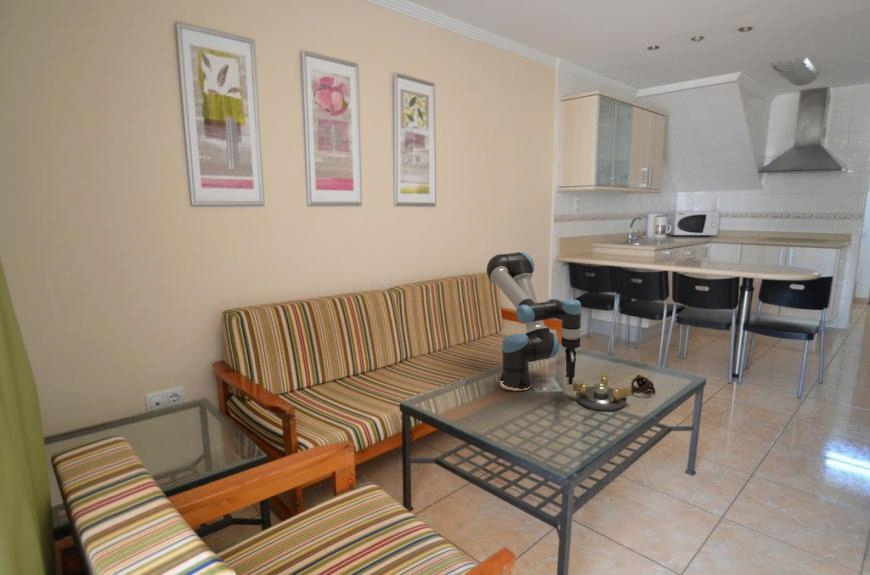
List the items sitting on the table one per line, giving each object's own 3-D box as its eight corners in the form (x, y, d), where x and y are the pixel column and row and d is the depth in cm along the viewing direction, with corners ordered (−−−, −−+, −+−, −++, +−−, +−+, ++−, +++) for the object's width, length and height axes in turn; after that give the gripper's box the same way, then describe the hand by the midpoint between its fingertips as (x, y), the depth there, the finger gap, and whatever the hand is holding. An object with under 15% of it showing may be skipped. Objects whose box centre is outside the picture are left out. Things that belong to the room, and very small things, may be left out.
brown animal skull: (660, 397, 201) (654, 384, 198) (639, 406, 203) (632, 393, 200) (649, 380, 212) (643, 366, 209) (629, 388, 214) (622, 375, 211)
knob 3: (615, 403, 191) (615, 391, 190) (610, 400, 194) (611, 389, 193) (632, 399, 194) (632, 388, 193) (627, 396, 196) (627, 385, 195)
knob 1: (588, 396, 199) (588, 384, 198) (584, 398, 197) (584, 386, 196) (571, 390, 205) (571, 379, 204) (567, 392, 204) (567, 381, 203)
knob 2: (606, 390, 204) (607, 379, 203) (600, 389, 205) (600, 378, 204) (609, 382, 211) (610, 372, 210) (603, 382, 212) (603, 371, 211)
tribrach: (571, 406, 196) (571, 389, 195) (581, 387, 213) (581, 372, 212) (622, 415, 187) (623, 397, 185) (629, 395, 204) (629, 379, 202)
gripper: (582, 342, 190) (581, 397, 194) (577, 332, 202) (576, 384, 207) (563, 341, 191) (562, 396, 195) (559, 332, 203) (558, 383, 208)
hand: (569, 390), depth 201 cm, fingers closed
